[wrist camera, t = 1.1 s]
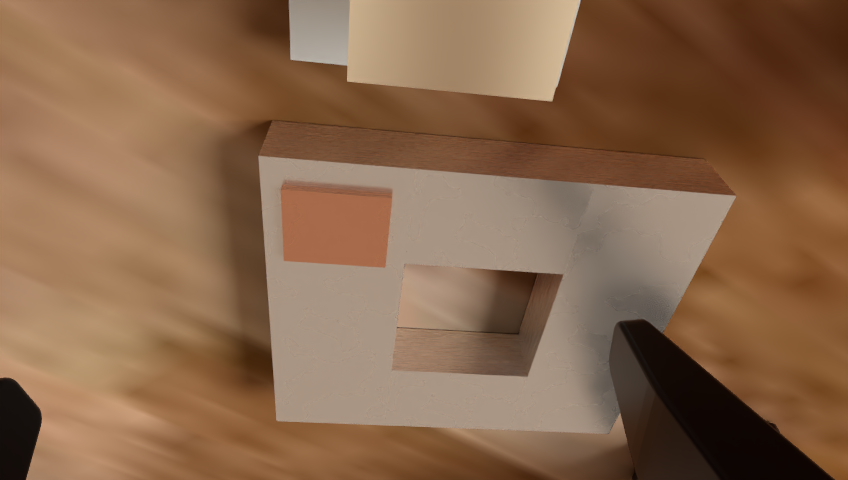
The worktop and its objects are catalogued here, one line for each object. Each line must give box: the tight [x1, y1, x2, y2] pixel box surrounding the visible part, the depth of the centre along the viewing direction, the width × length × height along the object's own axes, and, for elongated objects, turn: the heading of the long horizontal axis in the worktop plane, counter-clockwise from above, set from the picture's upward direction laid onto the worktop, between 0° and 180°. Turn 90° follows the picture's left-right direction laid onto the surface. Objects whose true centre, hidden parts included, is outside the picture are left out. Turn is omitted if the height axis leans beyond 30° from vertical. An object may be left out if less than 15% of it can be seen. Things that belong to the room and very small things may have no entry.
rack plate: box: [258, 120, 736, 434], centre depth 24 cm, size 16×14×3 cm
